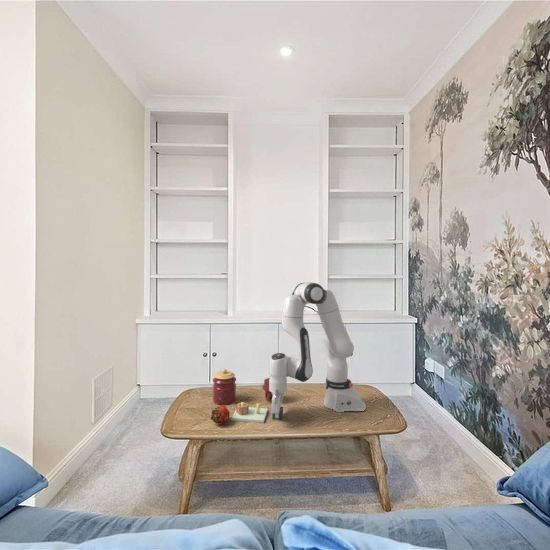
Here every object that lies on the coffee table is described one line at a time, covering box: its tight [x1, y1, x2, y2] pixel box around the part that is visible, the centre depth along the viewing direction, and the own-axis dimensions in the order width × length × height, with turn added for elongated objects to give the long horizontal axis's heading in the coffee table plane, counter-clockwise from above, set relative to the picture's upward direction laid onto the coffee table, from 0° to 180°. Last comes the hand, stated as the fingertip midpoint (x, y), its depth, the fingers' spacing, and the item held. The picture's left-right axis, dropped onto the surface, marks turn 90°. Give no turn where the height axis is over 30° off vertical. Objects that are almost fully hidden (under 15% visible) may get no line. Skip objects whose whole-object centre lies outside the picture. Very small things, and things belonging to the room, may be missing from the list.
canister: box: [212, 368, 237, 406], centre depth 181 cm, size 13×13×18 cm
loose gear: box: [271, 406, 284, 421], centre depth 162 cm, size 5×5×4 cm
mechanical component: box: [262, 377, 273, 404], centre depth 182 cm, size 12×10×10 cm
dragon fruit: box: [210, 405, 230, 425], centre depth 157 cm, size 8×8×12 cm
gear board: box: [230, 401, 269, 424], centre depth 164 cm, size 16×13×6 cm
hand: (277, 414), depth 162 cm, fingers closed on loose gear, 5 cm apart
